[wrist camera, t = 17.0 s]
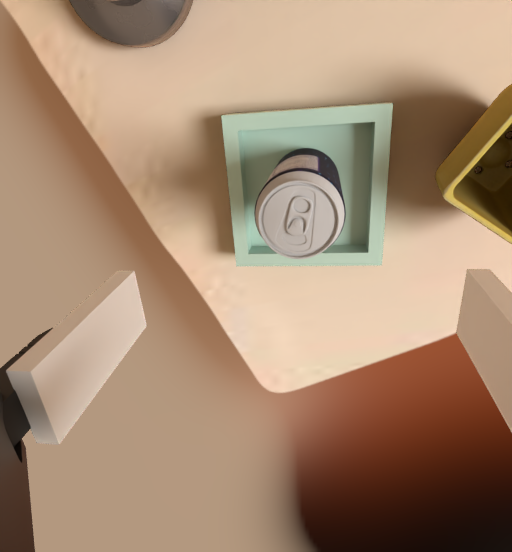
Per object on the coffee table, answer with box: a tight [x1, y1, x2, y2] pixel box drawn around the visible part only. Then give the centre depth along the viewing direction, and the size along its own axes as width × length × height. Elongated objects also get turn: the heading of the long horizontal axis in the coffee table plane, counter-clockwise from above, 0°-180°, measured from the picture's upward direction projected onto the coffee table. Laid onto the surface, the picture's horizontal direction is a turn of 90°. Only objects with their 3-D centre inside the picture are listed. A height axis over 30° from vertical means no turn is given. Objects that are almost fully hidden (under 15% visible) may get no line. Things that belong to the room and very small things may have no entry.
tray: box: [221, 102, 393, 266], centre depth 34 cm, size 13×13×3 cm
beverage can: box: [254, 148, 346, 259], centre depth 29 cm, size 6×6×12 cm
